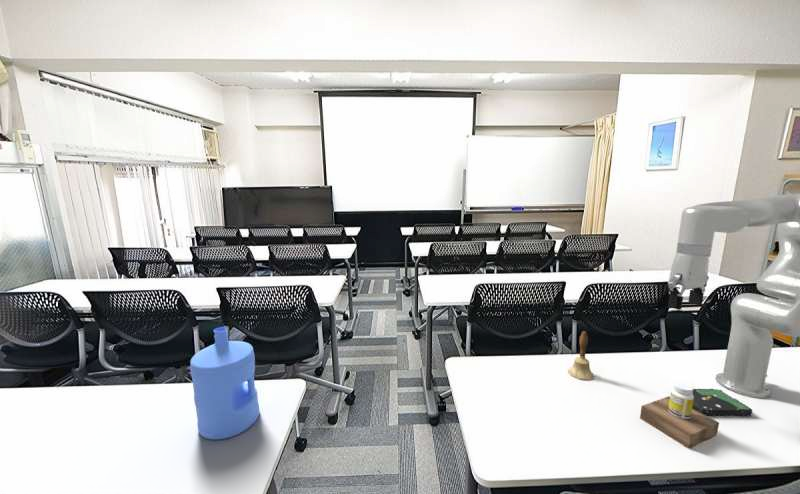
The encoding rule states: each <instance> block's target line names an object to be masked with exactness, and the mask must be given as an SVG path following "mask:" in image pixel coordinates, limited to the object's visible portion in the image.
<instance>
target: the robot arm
mask: <svg viewBox="0 0 800 494" xmlns="http://www.w3.org/2000/svg"><path fill="white" fill-rule="evenodd" d="M773 225H777V227H776V233H777V238H778V239H777V240H778V249H779V251H778V254H777V255H776V257H775V258H774V260H773V261H772V262H771V263H770V264H769V265H768V267H767V268H765V271H763V272H762V274H761V276H760V277H759V279H757V283H756V288H757V290H758V291H759V292H760V293H762V294H764V295H761V294H757V293H751V292H746V293H740V294H738V295H736V296H734V298H733V299H732V300H731V303H730V314H731V326H730V334H729V340H728V345H727V349H726V356H725V359H724V367H723V371H722V372H720V373H717V374H716V375H715V381H716V382H717V383H718V384H719V385H720V386H722V387H724V388H726V389H727V390H729V391H732V392H734V393H737V394H740V395H744V396H747V397H752V398H762V399H766V398H769V396H770V395H771V389H769V387H767V386H766V385H765V383H766V378H767V377H768V369H769V368H768V367H769V364H770V359H771V355H772V354H771V353H772V349H773V346H774V339H773V338H774V337H773V335H772V333H771V331H773V332H776V333H779V334H781V335H786V336H789V337H795V338H798V337H800V193H785V194H778V195H773V196H767V197H766V196H765V197H759V198H758V197H757V198H749V199H748V198H747V199H746V198H745V199H738V200H728V201H716V202H714V201H713V202H706V203H700V204H694V205H692V206H689V207H686V208H684V209H683V210H682V212H681V217H680V225H679V231H678V239H677V245H676V251H675V252H676V254H675V256H674V259H673V261H672V264H671V269H670V273H669V277H668V281H667V286H668V289H667V290H668V295H669V296H668V304H667V306H668V307H669V308H671V309H675V310H682V308H683V307H682V306H683V301H684V296H683V294H684V292H685V291H686V290H687V291H688V290H689V296H688V303H690V304H694V305H697V306H702V305H703V299H704V294H705V292H706V287H707V283H708V281H709V278H710V276H709V275H708V273H709V262H710V258H711V255H712V249H713V242H714V238H715V233H721V234H722V233H723V234H736V233H738V232H741V231H743V230H744V229H746V228H759V227H761V228H762V227H768V226H773Z"/></svg>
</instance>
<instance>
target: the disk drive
mask: <svg viewBox="0 0 800 494" xmlns="http://www.w3.org/2000/svg"><path fill="white" fill-rule="evenodd" d="M692 394H693V396H694V400H693V406H692V409H694V410H696V411H698V412H700V413H702V414H704V415H706V416H708V417H709V418H711V417H743V418H745V417H752V414H753V409H752V408H751V407H749V406H747V405H746V404H745V403H742V402H741V401H739V399H737V398H733V397H732V396H730V395H729V394H728V393H726V392H725V391H723V390H722V389H717V388H716V389H714V388H693V393H692Z"/></svg>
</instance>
